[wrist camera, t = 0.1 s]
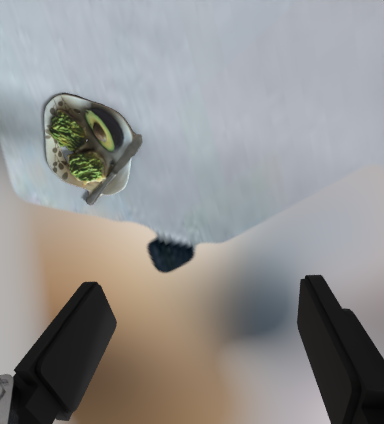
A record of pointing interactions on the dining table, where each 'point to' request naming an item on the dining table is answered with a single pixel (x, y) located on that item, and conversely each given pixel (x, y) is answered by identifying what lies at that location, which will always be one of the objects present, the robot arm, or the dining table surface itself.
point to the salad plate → (89, 145)
